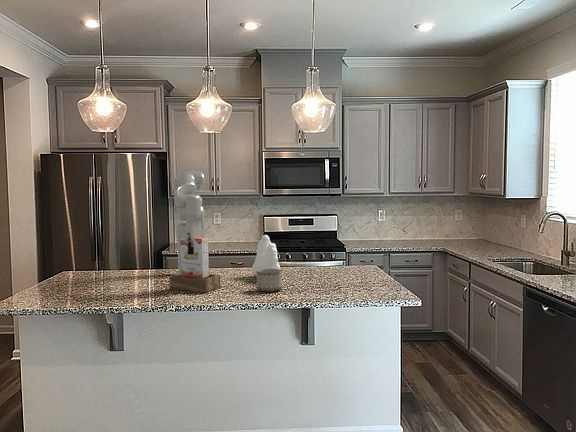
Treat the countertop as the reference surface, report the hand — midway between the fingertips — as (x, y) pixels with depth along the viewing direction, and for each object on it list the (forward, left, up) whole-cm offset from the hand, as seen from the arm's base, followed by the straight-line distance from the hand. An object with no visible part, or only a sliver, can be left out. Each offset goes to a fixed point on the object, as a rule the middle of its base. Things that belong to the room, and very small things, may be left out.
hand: (194, 253), depth 267 cm
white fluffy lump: (-39, +23, -19) cm, 49 cm away
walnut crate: (0, 0, -19) cm, 19 cm away
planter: (-10, +38, -19) cm, 44 cm away
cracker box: (0, 0, -13) cm, 13 cm away
